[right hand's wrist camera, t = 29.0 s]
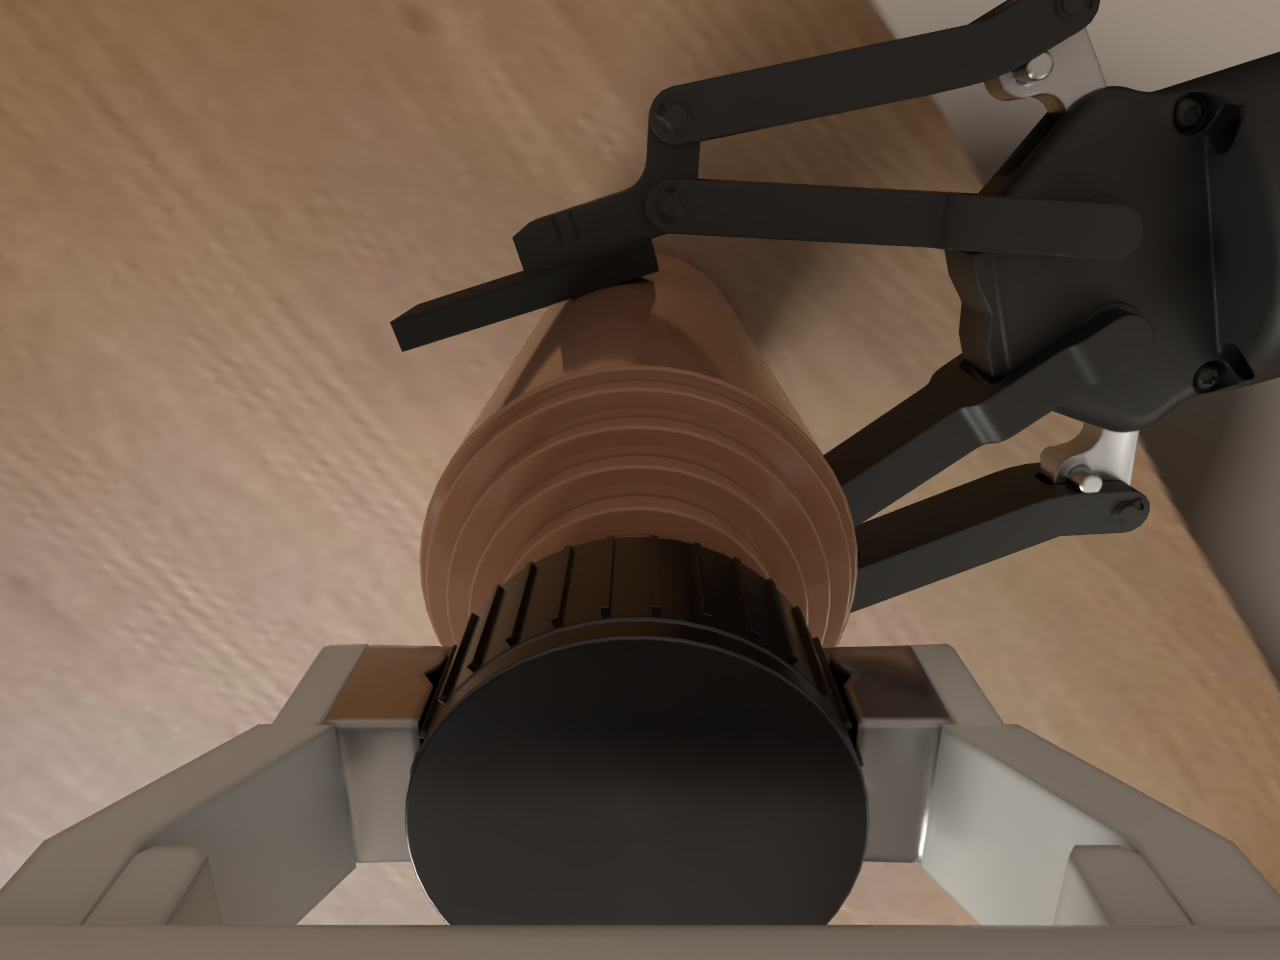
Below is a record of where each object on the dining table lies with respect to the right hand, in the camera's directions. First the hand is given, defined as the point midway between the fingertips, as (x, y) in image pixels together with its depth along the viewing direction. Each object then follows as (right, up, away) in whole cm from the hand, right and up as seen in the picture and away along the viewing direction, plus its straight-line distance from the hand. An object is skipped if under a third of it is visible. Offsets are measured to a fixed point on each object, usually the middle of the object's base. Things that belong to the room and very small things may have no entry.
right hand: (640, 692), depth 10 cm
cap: (0, -1, -2) cm, 2 cm away
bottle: (0, +7, +18) cm, 19 cm away
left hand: (-5, +3, +12) cm, 14 cm away
